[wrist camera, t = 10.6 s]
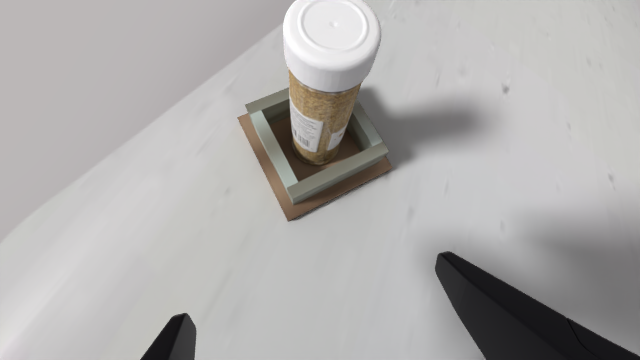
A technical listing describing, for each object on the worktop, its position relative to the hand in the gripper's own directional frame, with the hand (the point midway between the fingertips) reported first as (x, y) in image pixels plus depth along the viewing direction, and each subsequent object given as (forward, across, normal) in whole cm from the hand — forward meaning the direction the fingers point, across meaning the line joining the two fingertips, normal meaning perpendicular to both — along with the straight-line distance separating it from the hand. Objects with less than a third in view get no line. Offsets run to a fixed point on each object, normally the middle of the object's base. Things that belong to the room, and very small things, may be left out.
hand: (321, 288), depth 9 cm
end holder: (+17, -3, +2) cm, 18 cm away
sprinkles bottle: (+17, -3, +2) cm, 17 cm away
